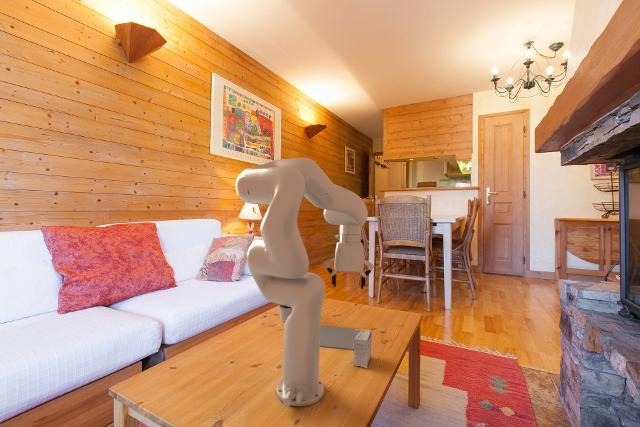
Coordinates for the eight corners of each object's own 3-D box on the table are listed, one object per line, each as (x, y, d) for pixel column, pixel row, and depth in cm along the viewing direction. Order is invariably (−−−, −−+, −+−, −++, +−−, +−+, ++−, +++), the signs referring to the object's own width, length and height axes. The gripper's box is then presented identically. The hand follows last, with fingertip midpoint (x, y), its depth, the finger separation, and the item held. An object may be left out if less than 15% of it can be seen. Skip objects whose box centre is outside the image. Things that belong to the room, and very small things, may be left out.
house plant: (302, 328, 118) (303, 288, 118) (268, 327, 118) (269, 287, 118) (304, 315, 132) (305, 279, 132) (274, 314, 133) (275, 278, 133)
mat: (359, 350, 101) (359, 349, 101) (297, 344, 104) (297, 343, 104) (360, 329, 119) (360, 328, 119) (307, 324, 122) (307, 323, 122)
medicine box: (367, 369, 89) (368, 341, 89) (352, 366, 91) (353, 338, 91) (371, 357, 97) (372, 331, 97) (357, 354, 98) (358, 328, 98)
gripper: (324, 238, 101) (322, 288, 101) (375, 241, 99) (373, 291, 99) (326, 236, 108) (324, 283, 108) (374, 239, 106) (372, 286, 106)
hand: (348, 287), depth 104 cm, fingers open, 9 cm apart
